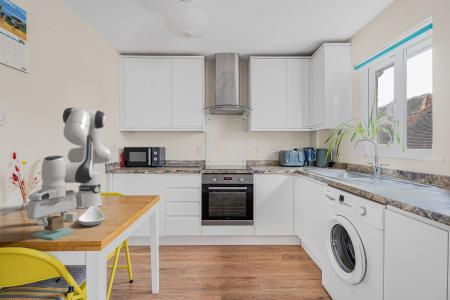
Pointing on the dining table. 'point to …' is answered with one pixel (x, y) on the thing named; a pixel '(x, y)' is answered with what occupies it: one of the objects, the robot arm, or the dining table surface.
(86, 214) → the spoon rest
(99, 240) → the dining table surface
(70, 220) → the grey cube
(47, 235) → the teal mat
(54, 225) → the walnut block
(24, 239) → the dining table surface
